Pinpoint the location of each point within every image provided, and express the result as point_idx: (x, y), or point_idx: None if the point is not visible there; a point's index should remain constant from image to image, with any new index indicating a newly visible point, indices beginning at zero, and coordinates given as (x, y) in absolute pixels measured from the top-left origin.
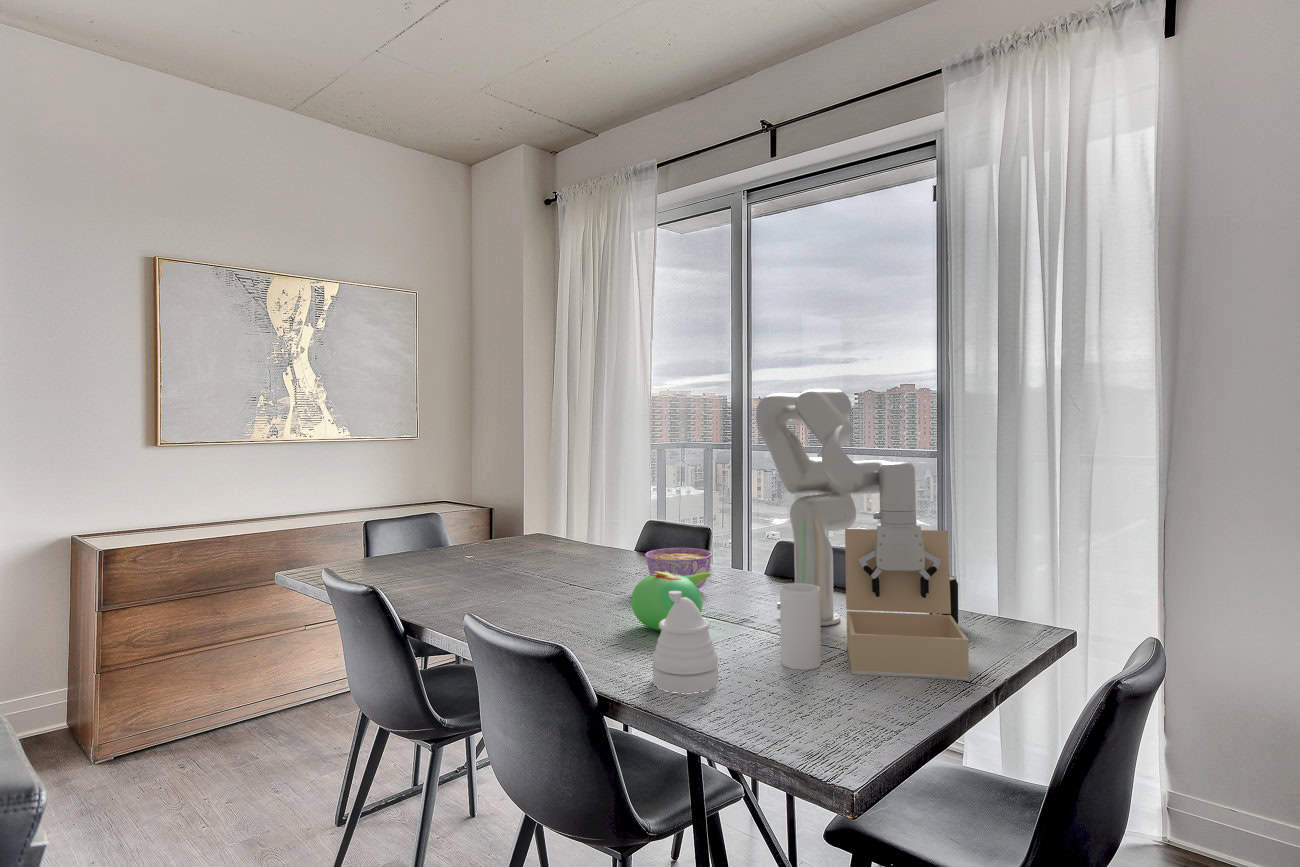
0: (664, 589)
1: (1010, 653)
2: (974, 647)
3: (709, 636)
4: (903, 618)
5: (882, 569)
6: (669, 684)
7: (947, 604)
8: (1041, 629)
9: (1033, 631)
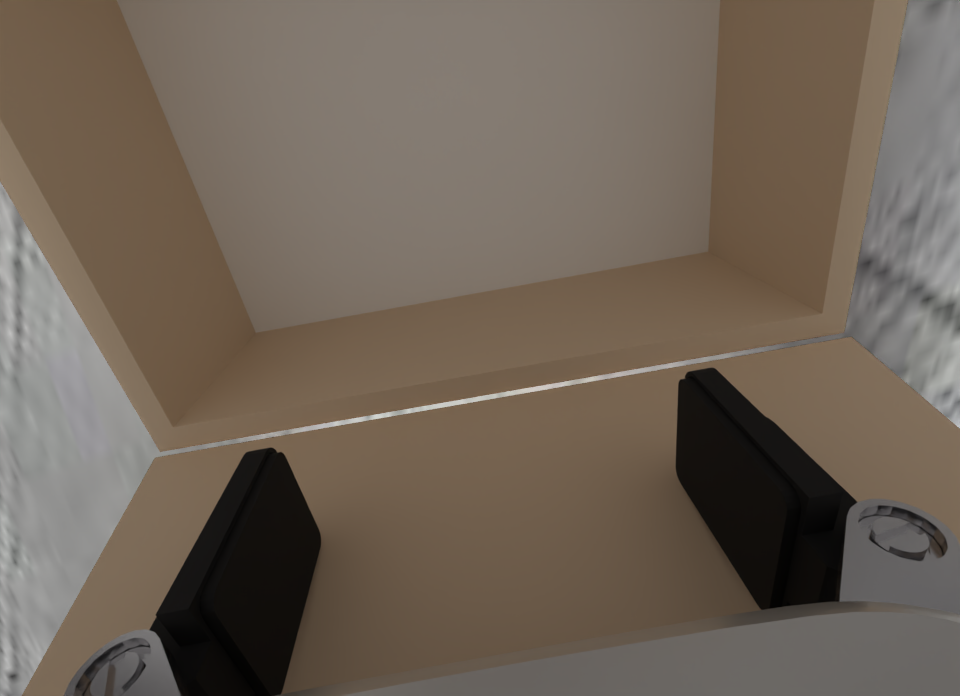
0: None
1: (16, 404)
2: None
3: None
4: (458, 364)
5: (912, 609)
6: None
7: (146, 508)
8: (25, 679)
9: (41, 656)
